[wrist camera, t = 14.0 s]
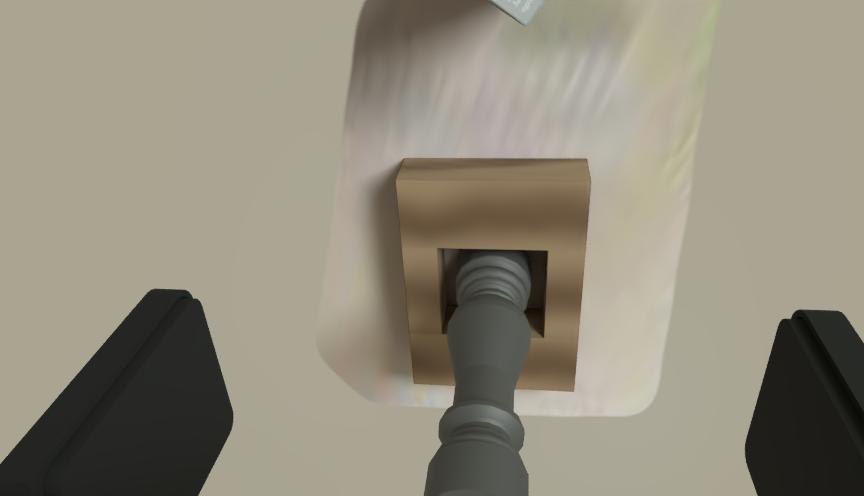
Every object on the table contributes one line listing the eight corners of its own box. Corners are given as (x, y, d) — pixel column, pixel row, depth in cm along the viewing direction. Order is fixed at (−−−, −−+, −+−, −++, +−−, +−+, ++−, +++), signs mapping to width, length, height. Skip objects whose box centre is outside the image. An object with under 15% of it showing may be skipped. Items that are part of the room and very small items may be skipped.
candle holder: (481, 304, 57) (454, 570, 36) (444, 252, 55) (392, 504, 34) (544, 277, 55) (554, 544, 34) (508, 221, 53) (495, 471, 32)
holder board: (404, 158, 51) (395, 180, 48) (587, 158, 49) (591, 181, 46) (420, 354, 61) (413, 383, 58) (571, 360, 59) (574, 391, 56)
